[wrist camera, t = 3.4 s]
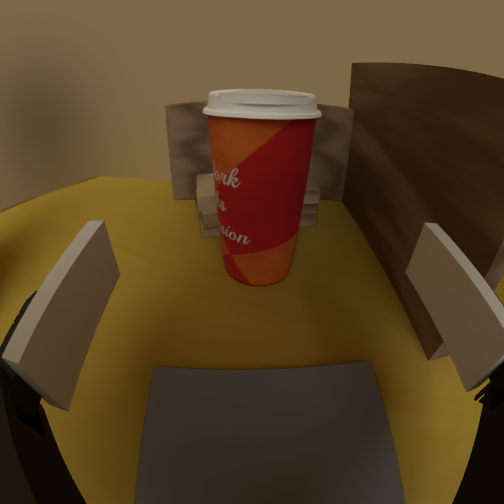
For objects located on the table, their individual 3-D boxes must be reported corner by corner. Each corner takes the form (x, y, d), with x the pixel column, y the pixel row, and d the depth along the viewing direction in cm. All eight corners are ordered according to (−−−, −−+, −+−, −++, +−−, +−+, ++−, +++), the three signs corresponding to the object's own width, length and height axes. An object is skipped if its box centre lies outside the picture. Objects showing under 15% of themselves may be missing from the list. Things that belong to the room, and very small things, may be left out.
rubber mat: (366, 366, 15) (370, 359, 15) (403, 550, 5) (410, 551, 5) (157, 372, 15) (154, 365, 15) (138, 568, 5) (132, 570, 4)
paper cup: (217, 238, 27) (211, 88, 19) (297, 239, 27) (310, 91, 19) (206, 296, 21) (189, 96, 12) (308, 298, 21) (338, 100, 12)
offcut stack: (295, 200, 35) (298, 167, 32) (318, 228, 29) (324, 190, 27) (196, 210, 32) (193, 174, 29) (200, 242, 27) (196, 200, 24)
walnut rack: (350, 194, 36) (366, 66, 26) (447, 355, 15) (556, 105, 5) (177, 193, 36) (167, 58, 25) (106, 372, 15) (-6, 54, 4)
